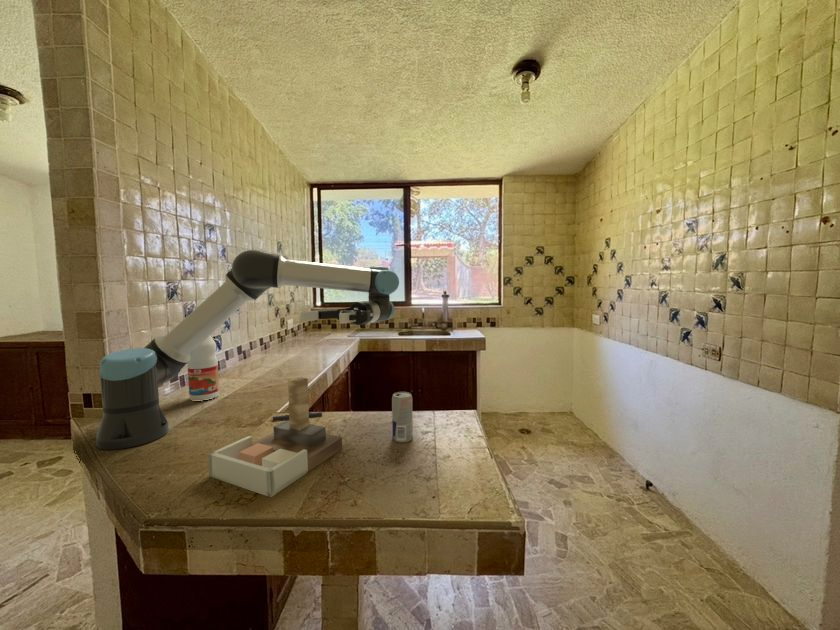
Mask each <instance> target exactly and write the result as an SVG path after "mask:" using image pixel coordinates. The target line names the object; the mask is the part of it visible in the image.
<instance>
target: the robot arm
mask: <svg viewBox="0 0 840 630" xmlns="http://www.w3.org/2000/svg"><path fill="white" fill-rule="evenodd" d="M224 275H225V282H224V283H222V284H221V285H220V286H219V287H218V288H217V289H216V290H214V291H213V292H212V293H211V294H210V295H209V296H208V297H207V298H206V299H204V301H202V302H201V303H200V304H199V305H198V306H197V307H195V309H193V310H192V311H191V313H189V314H188V315H187V316H186V317H184V318H183V319H182V320H181V321H180V322H179V323H178V324H177V325H176V326H175V327H174V328H172V329H171V330H170V331H169V332H168V333H167V334H166V335H157V336H155V337H154V338H153V339H152V340H151V341H150V342H149V343H148V344H147V345H145V346H144V347H143V348H142V347H138V348H129V349H122V350H121V351H113V352H111V353H108V354H106V355H105V356H103V357H102V358H101V359H100V361H99V369H98V375H99V378H100V379H99V380H100V392H101V403H102V405H101V406H102V418H101V421H100V423H99V426H98V430H97V433H96V435H95V446H96V448H97V447H98V449H100V450H105V451H106V450H111V451H112V450H121V449H123V450H124V449H129V448H133V447H137V446H141V445H144V444H147V443H152V442H154V441H156V440H158V439H161V438H162V437H164V436H165V435H167V434H168V433H169V421H168V419H167V418H166V416H165V414H164V412H163V410H162V407H161V405H160V400H159V399H160V397H159V387H160V386H162V385H164V384H166V383H168V382H169V381H172V380H173V379H175V378H176V377H177V376H178V375H179V373H181V370H182V369H183V368H184V367H185V366H186V365H187V363H188V362H189V361H190V353H191V352H192V351H194V350H195V349H196V348H197V347H198V346H199V345H200V344H201V343H202V342H203V341H204V340H205V339H207V338H208V337H209V336H210V335H211V336H212V334H214V332H215V331H216V330H217V329H219V328H220V327H221V325H223V324H224V323H225V322H226V321H228V320H229V319H230V317H232V316H233V315H234V314H235V313H237V311H238V310H239V309H240V308H241V307H242V306H244V305H245V304H246V303H247V302H248V301H257V299H258V298H259V297H261V296H262V295H263V294H264V293H265V292H266V291H267V290H268V289H271V288H277V289H279V288H281V287H283V286H290V287H291V286H294V287H301V288H303V287H304V288H315V289H324V290H325V289H326V290H338V291H347V292H348V291H350V292H358V293H359V292H362V293H367V294H368V297H367V299H368V300H364V301H363V300H362V301H355V302H353V303H352V304H350V306H349V307H345V308H337V309H323V310H321V309H320V310H311V311H301V312H300V322H301V323H305V322H311V321H312V322H314V323H315V322H316V323H317V322H318V321H319V320H330V319H332V320H333V319H337V320H338V321H339V324H346V323H352V324H354V325H355V326H361V325H366V324H367V326H370V325H371V324H373V323H380V322H386V321H388V320H391V318H392V317H394V314H395V312H396V311H395V310H396V309H395V305H394V304H393V302H392V301H390V299H391V298H390V295H391V294H393V293H395V292H396V291H397V290H398V288H399V285H400V279H399V276H398V275H397V273H396V272H394V271H393V270H390V269H389V267H387V266H370V267H368V268H367V267H357V266H349V265H338V264H331V263H321V262H320V263H319V262H314V261H313V262H311V261H305V260H304V261H303V260H294V259H286V258H285V257H284V256H283V255H282V254H273V253H268V252H264V251H260V250H256V249H249V250H244V251H242V252H240V253H239V254H238V255H237V256H235V258H234V260H233V262H232V265H231V269H230V270H229V271H228V272H227V273H225V274H224Z"/></svg>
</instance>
